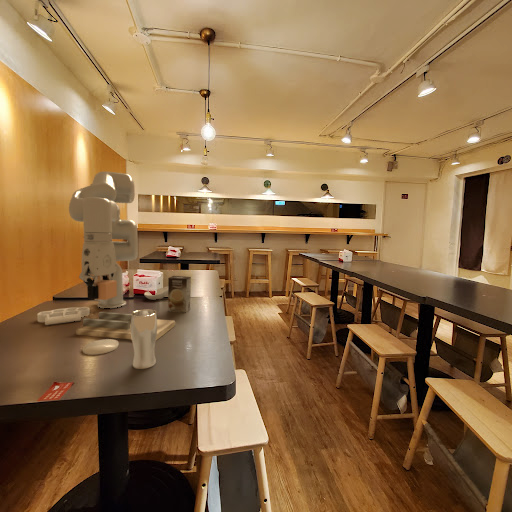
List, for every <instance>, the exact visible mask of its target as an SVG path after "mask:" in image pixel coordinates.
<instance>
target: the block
mask: <svg viewBox="0 0 512 512" xmlns="http://www.w3.org/2000/svg"><path fill="white" fill-rule="evenodd" d="M96 286H98V299H101V300H107V299H110V298H113V297H116V296H117V281H113V280H101V279H97V285H96ZM87 299H89V298H88V297H87ZM89 300H90V299H89Z"/></svg>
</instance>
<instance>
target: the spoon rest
mask: <svg viewBox="0 0 512 512" xmlns="http://www.w3.org/2000/svg"><path fill="white" fill-rule="evenodd" d="M149 291H150V290H148V291H145V292H144V294H143V295H144V296H145V298H146V299H148V300H152V301H157V300H156V299H159V300H163V299H164V298H165V296H167V295H168V285H167V286H165V287H161V288H157V293H156V294H155V295H152V294H151V293H150V292H149Z"/></svg>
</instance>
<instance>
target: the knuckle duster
mask: <svg viewBox="0 0 512 512" xmlns="http://www.w3.org/2000/svg"><path fill="white" fill-rule="evenodd" d="M90 311H91V310H90V307H89V306H82V307H67V308H65V307H64V308H57V309H52V310H45V311H44V310H43V311H40V312H38V313H37V314H36V315H37V316H36V317H37V322H38V323H44V325H45V326H49V325H50V326H51V325H59V324H66V323H72V322H74V321H75V322H80V321H81V322H82V318H85V317H84V316H87V315H89V314H91V313H90ZM89 316H90V315H89ZM81 317H82V318H81ZM87 317H88V316H87ZM75 322H74V323H75Z"/></svg>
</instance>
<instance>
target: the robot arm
mask: <svg viewBox="0 0 512 512" xmlns="http://www.w3.org/2000/svg"><path fill="white" fill-rule="evenodd" d="M134 182H135V181H134V179H133V178H132V176H131V175H130V174H128V173H124V172H123V173H122V172H114V171H100V172H97V173H96V174H95V175H94V177H93V180H92V183H91V184H90V185H87V186H85V187H82V188H79V189H77V190H75V191H74V192H73V194H72V196H71V198H70V201H69V204H68V205H69V206H68V213H69V216H70V218H71V220H74V221H76V222H79V223H81V222H82V223H83V244H82V250H81V272H80V274H79V276H78V277H79V279H80V280H82V281H83V283H84V284H85V286H86V287H87V290H86V291H87V299H88V298H89V300H90V299H91V300H94V301H97V302H98V303H97V308H99V307H100V308H99V309H104V308H110V309H117V307H118V308H122V307H125V306H126V305H127V301H126V300H124V295H123V294H124V292H123V290H124V289H123V285H124V283H123V269H122V267H121V265H120V264H119V263H118V262H125V261H126V262H127V261H128V262H130V261H135V260H136V259H137V258H138V256H139V255H138V254H139V250H138V249H139V248H138V247H139V245H138V243H139V241H138V227H137V223H136V222H135V221H134V220H131V219H121V208H120V206H119V205H118V203H119V204H131V203H133V202H134V199H135V195H136V193H135V183H134ZM113 240H114V241H113ZM115 240H116V241H115ZM118 240H125V241H118ZM98 277H100V280H113V281H117V296H116V297H113V298H110V299H107V300H101V299H98V286H96V285H97V280H99V279H98ZM121 306H122V307H121Z"/></svg>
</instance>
